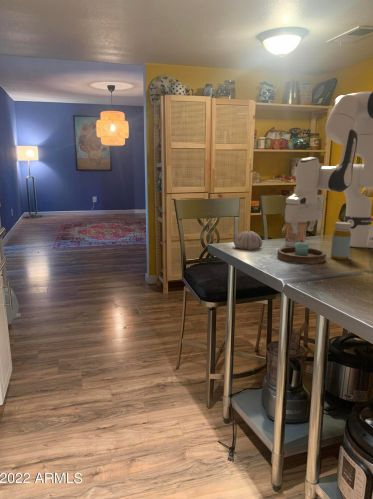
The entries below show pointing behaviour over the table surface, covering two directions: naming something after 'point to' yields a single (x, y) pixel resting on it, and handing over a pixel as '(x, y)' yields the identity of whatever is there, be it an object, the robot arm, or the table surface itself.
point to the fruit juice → (298, 237)
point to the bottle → (341, 241)
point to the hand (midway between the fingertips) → (303, 232)
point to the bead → (301, 249)
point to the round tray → (290, 256)
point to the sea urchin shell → (248, 240)
